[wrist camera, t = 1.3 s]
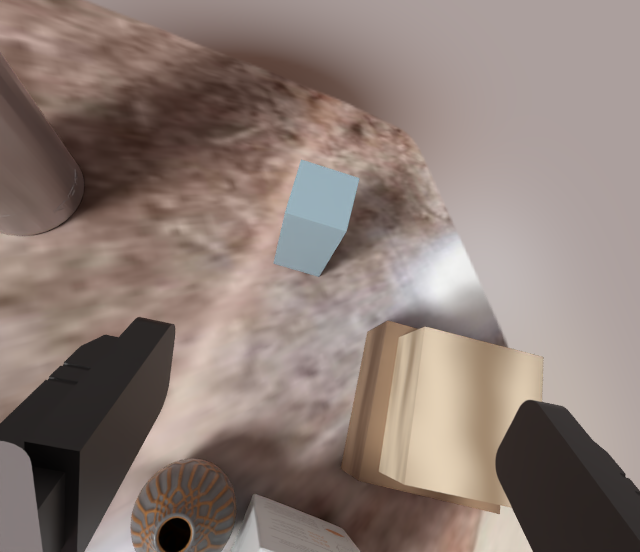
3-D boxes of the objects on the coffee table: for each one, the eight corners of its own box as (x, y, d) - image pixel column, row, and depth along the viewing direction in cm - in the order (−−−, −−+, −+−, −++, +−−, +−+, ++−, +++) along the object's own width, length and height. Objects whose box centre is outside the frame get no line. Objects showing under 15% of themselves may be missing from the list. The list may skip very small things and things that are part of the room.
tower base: (339, 468, 35) (358, 480, 29) (366, 332, 39) (387, 320, 33) (459, 496, 36) (499, 514, 30) (473, 361, 40) (511, 355, 34)
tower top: (378, 471, 30) (404, 484, 25) (398, 337, 33) (425, 326, 28) (492, 496, 31) (538, 513, 26) (501, 363, 34) (543, 356, 29)
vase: (233, 447, 34) (231, 461, 25) (239, 542, 32) (239, 591, 24) (144, 461, 32) (110, 481, 24) (145, 561, 30) (109, 620, 22)
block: (273, 263, 39) (285, 212, 28) (286, 222, 40) (301, 159, 30) (318, 276, 39) (346, 231, 29) (329, 235, 41) (359, 178, 30)
